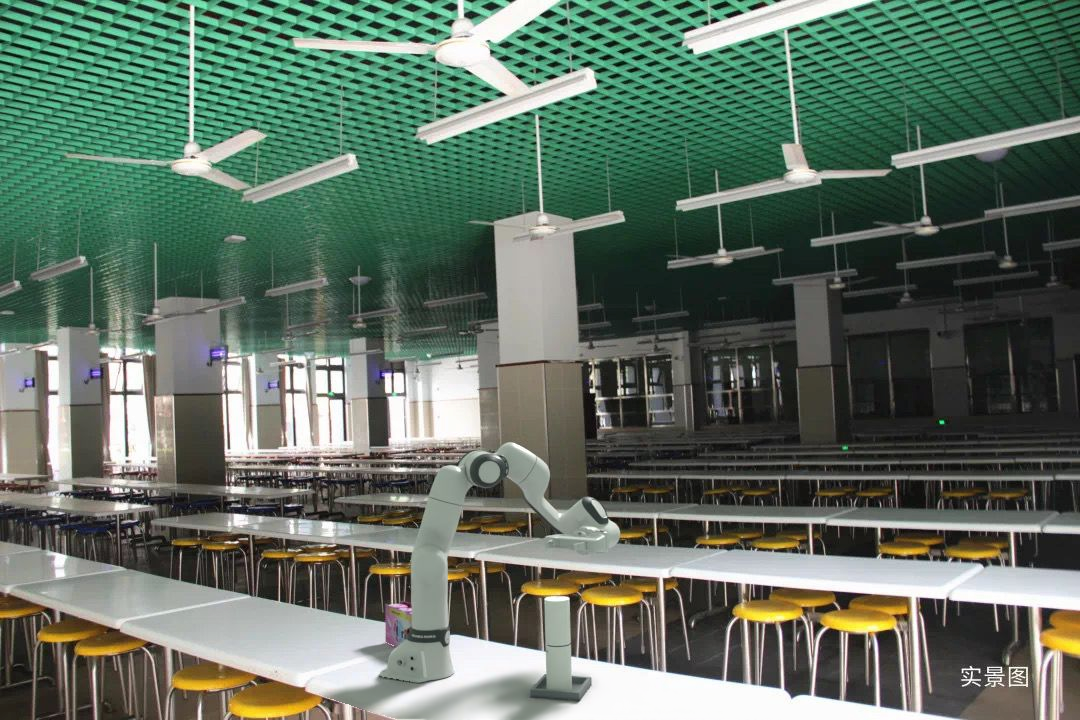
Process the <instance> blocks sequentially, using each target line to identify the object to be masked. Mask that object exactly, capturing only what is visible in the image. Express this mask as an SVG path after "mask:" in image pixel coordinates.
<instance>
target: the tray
mask: <svg viewBox="0 0 1080 720" xmlns="http://www.w3.org/2000/svg"><path fill="white" fill-rule="evenodd" d="M592 681H593V680H592V677H591V676H579V675H572V690H571V691H563V690H549V689H547V680H546V673H544V674H543V675H542V677H540V679H538V681H536V683H535V684H534V685H533V686H532V687H531V688H530V689H529V692H530V693H529V695H530V696H529V697H530V698H531V699H532V698H534V699H546V700H556V701H557V700H560V701H571V702H580V701H581V700H582V699H583V698H584V696H585V695H586V693H588V691H589V689H590V688H591V687H592V685H593V684H592V683H593V682H592ZM590 686H591V687H590ZM587 690H588V691H587Z"/></svg>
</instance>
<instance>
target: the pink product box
mask: <svg viewBox="0 0 1080 720" xmlns="http://www.w3.org/2000/svg"><path fill="white" fill-rule="evenodd" d="M384 624H385V643H386V642H387V643H389V644H392V645H394V646H395V647H398V646H399V645H400V644H401V643H402V642H403V641H405V640H406V639H407V634H406V635H404V633H405V632H404V631H406V630H407V629H408V628H409V627H411V625H412V604H411V602H408V601H405V600H401V601H400V602H399V603H393V604H391V603H390V604H388V603H385V623H384ZM387 643H386V644H387ZM389 644H388V645H389ZM395 647H394V648H395Z"/></svg>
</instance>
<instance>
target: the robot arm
mask: <svg viewBox="0 0 1080 720" xmlns="http://www.w3.org/2000/svg"><path fill="white" fill-rule="evenodd" d="M549 468H550V467H549V466H548V464H547V463H546V461H545V462H544V460H543V459H541V457H539V456H537V455H536V454H535V453H533V452H531V451H530V450H528V449H527V448H525V447H523V446H521V445H519V444H517V443H515V442H509V441H508V442H506V443H504V444H501V446H500V447H499V448H498V449H497V451H496V452H494V453H493V452H492V453H491V452H488V451H485V450H480V449H474V450H470V451H468V452H466V453H465V454H464V455H463V456H462V457H461V458H460V459H459V460H457V462H456V463H455V465H454V464H453V465H452V464H450V465H444V466H442V467H441V468H440V469H439V470H438V471H437V474H436V476H435V478H434V481H433V483H432V484H431V488H430V491H429V494H428V497H427V501H426V506H425V508H424V513H423V515H422V519H421V524H420V526H419V530H418V533H417V536H416V539H415V543H414V546H413V550H412V553H411V555H410V557H411V558H410V587H411V588H410V590H411V592H410V593H411V594H410V595H411V596H410V597H411V599H410V600H411V601H410V603H411V604H412V625H411V627H409V628H408V629H407V630H406V631H404V632H405V633H404V635H406V634H407V639H406V640H405V641H403V642H402V643H401V644H400V645H399V646H398V647H396V648H395V647H394V649H393V650H391V652H390V654H389V655H388V659H387V665H386V666H385V667H384V668H382V669H381V670H380V672H379V677H380V676H382V677H381V678H384V677H387V678H386V679H390V678H393V679H392V680H396V679H399V680H398V681H403V680H404V681H403V682H409V681H410V682H411V683H417V684H419V683H424V682H428V681H435V680H441V679H445V678H447V677H450V676H453V674H454V673H455V669H454V666H453V662H452V659H451V658H452V657H451V652H450V641H451V640H450V639H451V633H450V632H451V631H450V629H451V628H450V624H449V614H448V613H449V611H448V610H449V609H448V606H449V605H448V596H449V595H448V592H449V590H448V589H449V583H448V582H449V581H448V580H449V574H448V573H449V572H448V571H449V569H448V566H449V564H448V563H449V562H448V556H449V553H450V550H451V547H452V543H453V540H454V538H455V535H456V532H457V529H458V526H459V521H460V517H461V514H462V509H463V507H464V502H465V499H466V495H467V493H468V491H469V490H470V489H471V487H473V486H474V487H475V486H476V487H479V488H482V489H490V488H492V487H495V486H497V485H498V484H499V483H500V482H501V481H502V480H504V479H505V478H508V479H510V481H512V482H513V483H515V484H516V485H517V486H518V487H519V488H520V489H521V491H522V497H523V500H524V501H525V503H526V505H528V506H529V507H530V509H531V510H532V511H534V512H535V514H536V515H537V516H539V518H541V519H542V521H544V523H546V525H547V526H549V528H551V529H552V531H553V532H554V533H555V534H552V535H546V536H544V547H545V548H546V549H556V550H565V551H566V550H567V551H575V552H576V553H578V554H580V555H582V556H588V555H593V554H606V553H609V550H610V549H612V548H613V547H615V546H616V545H618V543H619V541H620V538H621V537H620V536H621V531H620V527H619V526H618V524H617V523H615V522H614V521H612V520H610V519H609V516H608V513H607V509H606V508H605V506H604V505H603V504H602V502H601V501H599V500H598V499H596V498H594V497H591V496H583V497H582V498H581V499H580V500H578V501H577V502H576V503H575V504H574V505H572V507H570V508H569V509H568V510H567V511H565V512H563V513H561V512H559V511H557V509H555V507H553V505H551V503H549V501H547V499H546V498H545V493H546V490H547V488H548V487H549V483H550V477H551V471H550V469H549Z"/></svg>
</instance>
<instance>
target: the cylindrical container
mask: <svg viewBox="0 0 1080 720" xmlns="http://www.w3.org/2000/svg"><path fill="white" fill-rule="evenodd" d="M543 601H544V603H543V604H544V624H545V625H544V630H545V631H544V632H545V633H544V635H545V638H544V639H545V674H546V680H547V689H549V690H563V691H571V690H572V676H573V674H572V639H571V611H570V610H571V609H570V608H571V605H570V604H571V603H570V597H569V596H565V595H552V596H551V595H550V596H547V597H544V600H543Z"/></svg>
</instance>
